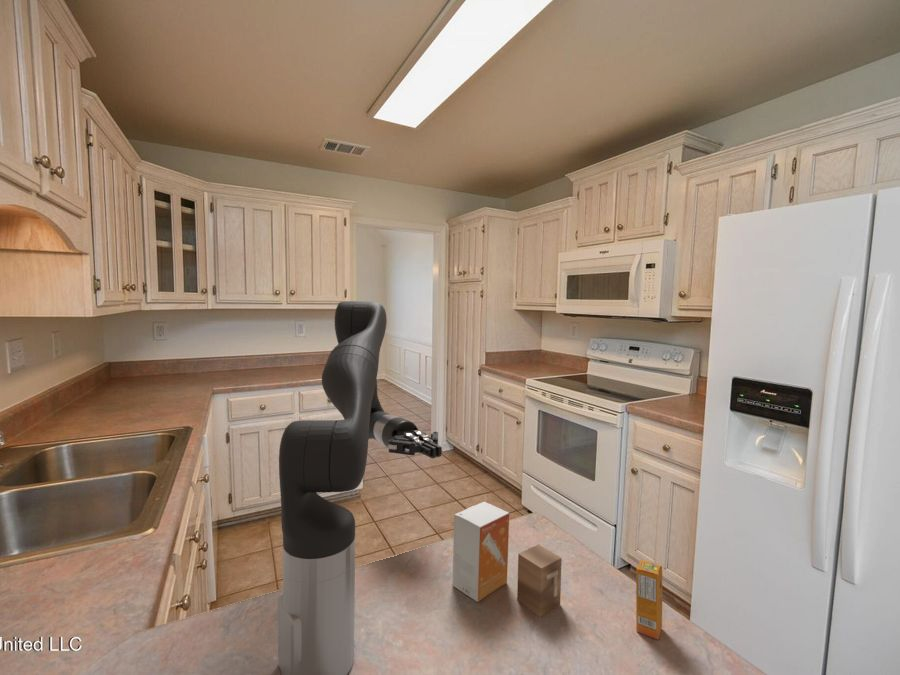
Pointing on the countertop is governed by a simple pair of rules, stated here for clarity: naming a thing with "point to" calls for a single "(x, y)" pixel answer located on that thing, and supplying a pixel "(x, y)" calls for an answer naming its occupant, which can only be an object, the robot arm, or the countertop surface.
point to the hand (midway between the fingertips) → (437, 452)
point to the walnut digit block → (539, 579)
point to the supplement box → (649, 599)
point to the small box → (480, 550)
